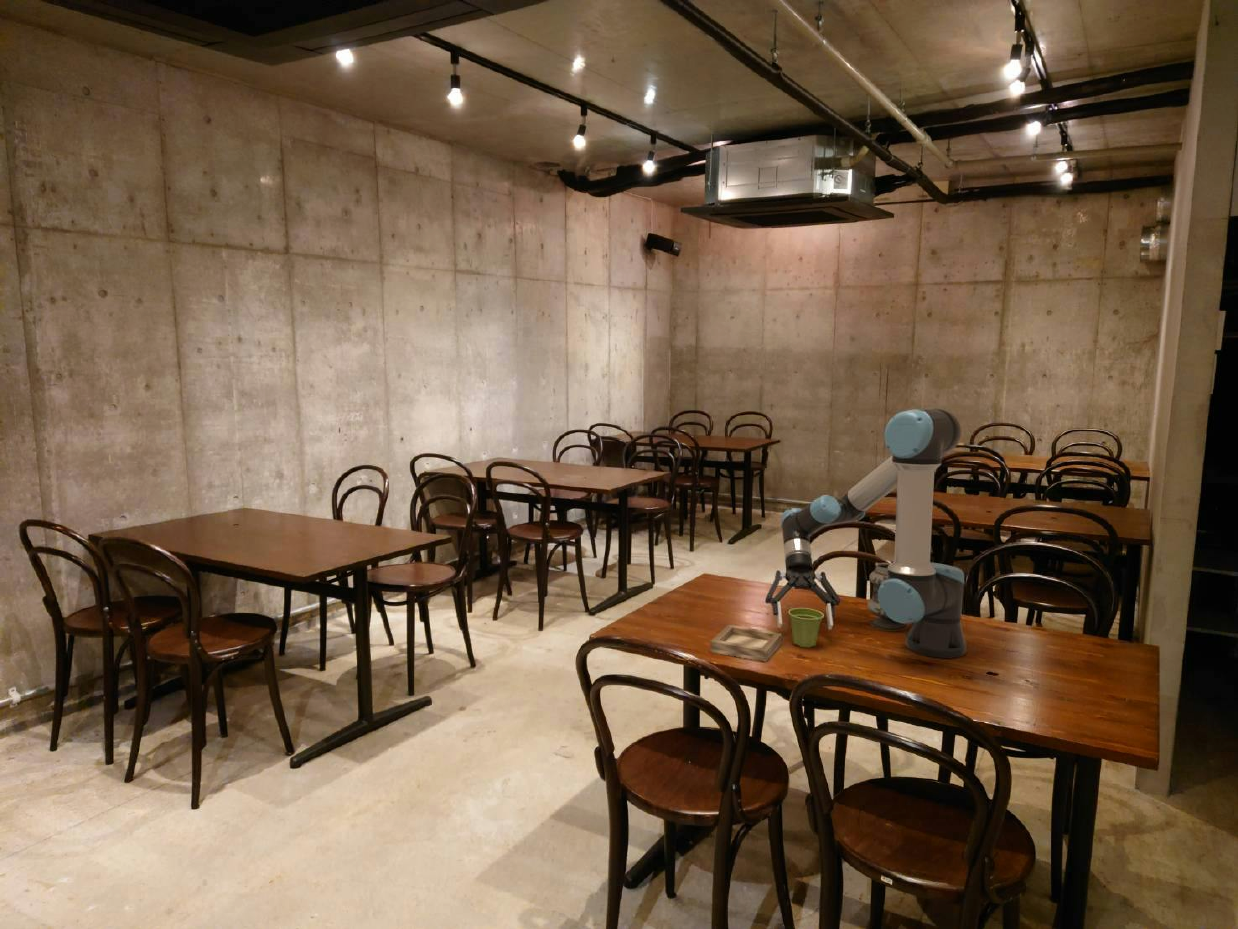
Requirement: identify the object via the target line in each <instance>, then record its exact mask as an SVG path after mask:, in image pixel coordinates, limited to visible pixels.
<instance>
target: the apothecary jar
mask: <svg viewBox="0 0 1238 929" xmlns="http://www.w3.org/2000/svg"><path fill="white" fill-rule="evenodd" d="M892 563H893V562H892ZM892 563H891V562H880V563H876V565H875V569H874V570H873V571H871V573H870V574H869V581H870V583H871V584H872V586H873V587H872V596H871V598H870V599H869V600H868V601H867V606H866V607H867V609H868V610H869V612H870V613H871V614H872V615H874V616H876V617H878V618H876V619H873V620H871V621H870V622H869V623H870V626H871V627H872V628H874V627H875V629H878V630H880V631H886V632H901V631H905V629H906V628H907V626H906V623H899V622H896V621H894V620H892V619H890V618H889V617H888V616H887V615H886V613H885V612H884V611H883V610H882V608H881V606H880V604H879V601H878V590H879V587H880V586H881V585H882V584H883V582H884V581H885V580H887V573H888V566H889V565H890V564H892Z"/></svg>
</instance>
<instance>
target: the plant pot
mask: <svg viewBox="0 0 1238 929" xmlns="http://www.w3.org/2000/svg"><path fill="white" fill-rule="evenodd" d="M788 615H789V618H790V621H791V632H792V633H791V634H792V643H793V645H798V647H801V648H812V647H816V645H817V641H818V634H819V631H820V625H821V623H822V620H823V619H824V618H825V615H824V613H823V612H821V611H819V610H817V609H813V608H809V607H808V608H807V607H796V608H794V607H793V608H791V609H789V610H788Z"/></svg>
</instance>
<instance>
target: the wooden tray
mask: <svg viewBox="0 0 1238 929" xmlns="http://www.w3.org/2000/svg"><path fill="white" fill-rule="evenodd" d="M782 638H783V634H782V633H780V632H776V631H768V630H763V629H757V628H751V627H746V626H740V625H735V624H728V625H727V626H726V627H725V628H723V629H722V630H721V631H720V632H719V633H718V634H717V635H716V636H715V637H713V638H712V639H711V640H710V645H709V646H710V647H709V648H710V649H709V650H710V651H709V652H710V653H714V654H719V655H725V656H728V655H729V657H734V656H736V657H735V658H739V657H741V658H740V659H744V658H751V659H755V660H760V661H764V662H763V663H765V662H766V661H767V660H768V659H769V660H770V659H771V657H772V656H773V655H774V654H775V653H776V651H777V650H778V649H779V648H780V647H781V646H782ZM773 653H774V654H773ZM755 660H754V661H755ZM769 660H768V661H769ZM760 661H759V662H760ZM768 661H767V662H768ZM767 662H766V663H767Z"/></svg>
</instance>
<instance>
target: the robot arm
mask: <svg viewBox="0 0 1238 929" xmlns="http://www.w3.org/2000/svg"><path fill="white" fill-rule="evenodd" d="M961 436H962V426H961V423H960V421H959V419H958V418H957V417H956V416H955V415H954V414H953V413H952V412H950V411H948V410H946V409H942V408H932V409H931V408H930V409H918V408H917V409H915V408H914V409H908V410H905V411H901V412H898V413H897V414H895V415H894V416H892V418H891V419H890V420H889V421H888V423H886V426H885V430H884V434H883V437H884V438H883V439H884V444H885V447H886V448H887V449H888V451H889V453H890V454H891V456H890V457H888V458H887V459H886V460H884V462H882V463H881V464H880V465H878V466H877V467H876V468H875V469H873V470H872V471H871V472H870V473H868V474H867V475H866V476H865V477H863V478H862V479H861V480H860V481H858V482H857V483H856V484H855V485H854V486H853V487H852V488H850V489H849V490H847V491H846V492H845V493H844V494H843V495H842V496H840V497H834V496H830V495H829V494H825V495H824V494H823V495H821V496H820V497H818V498H815V499H814V500H813V501H812V502H810V503H809V504H808V505H806V506H805V507H803V508H799V507H791V509H786V510H785V511H784V512H783V513H782V515H781V525H780V526H781V532H782V540H783V541H782V542H783V549H784V550H783V551H784V562H785V563H784V564H785V572H781V571H780V570H776V571H775V576H774V580H773V583H772V584H771V587H770V588H769V591H768V592H767V594H766V596H765V599H764V600H765V603H766V604H771V606H772V614H773V616H776V620H777V621H776V622H777V628H778V629H779V628H780V629H781V628H782V625H783V617H782V606H781V605H782V604H781V600H782V599H783V597H785V595H786V594H787V593H788V592H789V591H790V590H791V589H792V588H794V589H795V590H799V589H801V590H807V589H808V590H810V591H811V592H813V594H815V595H816V596H817V597H818V598H819V599H820V600H821V601H822V602H823V603H824V604H825V605H826V607H825V612H826V620H827V629H828V631H829V630H831V631H832V629H833V627H834V620H833V618H834V617H835V616H836V609H835V607H836V606H840V603H841V598H840V596H839V595H838V593H837V592H836V591H835V589H834V588H833V586H832V584H831V583H830V582H829V580H828V579H827V575H826V572H825V571H821V573H815V571H814V566H813V558H812V549H811V548H812V547H811V542H810V540H811V539H810V537H811V536H812V535H813V534H815V533H816V532H818V531H819V530H821V529H824V528H826V527H830V526H831V527H832V526H836V525H841V524H846V523H847V524H848V523H855V522H857V521H860V520H862V519H863V518H864V517H865V516H866V513H867V510H869V509H870V508H871V507H872V506H874V505H875V504H876V503H878V502H879V501H880V500H882V499H883V498H885V496H887V495H888V494H890V493H891V492H893V491H894V490H895V489H896V488H897V489H896V508H895V509H896V512H895V534H894V535H895V536H894V537H895V538H894V559H893V561H892V564H890V565H889V566H888V573H887V580H885V581H884V582H883V584H882V585H881V586H880V587H879V590H878V601H879V604H880V606H881V608H882V610H883V611H884V612H885V613H886V615H887V616H888V617H889V618H890V619H892V620H894V621H896V622H899V623H904V624H910V623H911V624H910V625H909V628H908V631H907V633H906V635H905V646H906V648H908V649H909V650H911V651H913V652H914V653H917V654H919V655H923V656H928V657H933V658H938V659H940V658H941V659H955V658H960V657H963V656H965V655H964V654H967V653H966V651H967V642H966V639H965V634H964V632H963V627H962V612H963V599H964V589H965V588H964V586H965V584H966V583H965V574H964V571H963V570H962V569H961V568H959V567H957V566H952V565H948V564H943V563H937V562H931V548H932V547H931V546H932V531H933V530H932V528H933V526H932V525H933V509H934V508H933V505H934V504H933V503H934V483H935V471H936V470H937V469H938V468H939V467H940V466H941V465H942V459H943V457H945V456H946V455H947V454H948V453H949V454H950V452H952V451H953V450H954V449H955V448H956V447H957V446H958V444H959V442H960V441H961V438H962V437H961ZM783 579H785V581H787V582H786V584H785V585H784V586H783V587H782V588H781V589H780V590H779V591H778V593H777V594H776V595H775V596H774V593H775V592H776V590H777V587H778V586H779V584H780V582H781V581H783ZM815 579H816V580H817V581H818V583H820V585H821V587H822V588H823V589H824V590H823V589H822V588H821V587H820V586H819V585H818V583H817V582H816V581H815ZM773 596H774V597H773ZM962 655H963V656H962Z"/></svg>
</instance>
